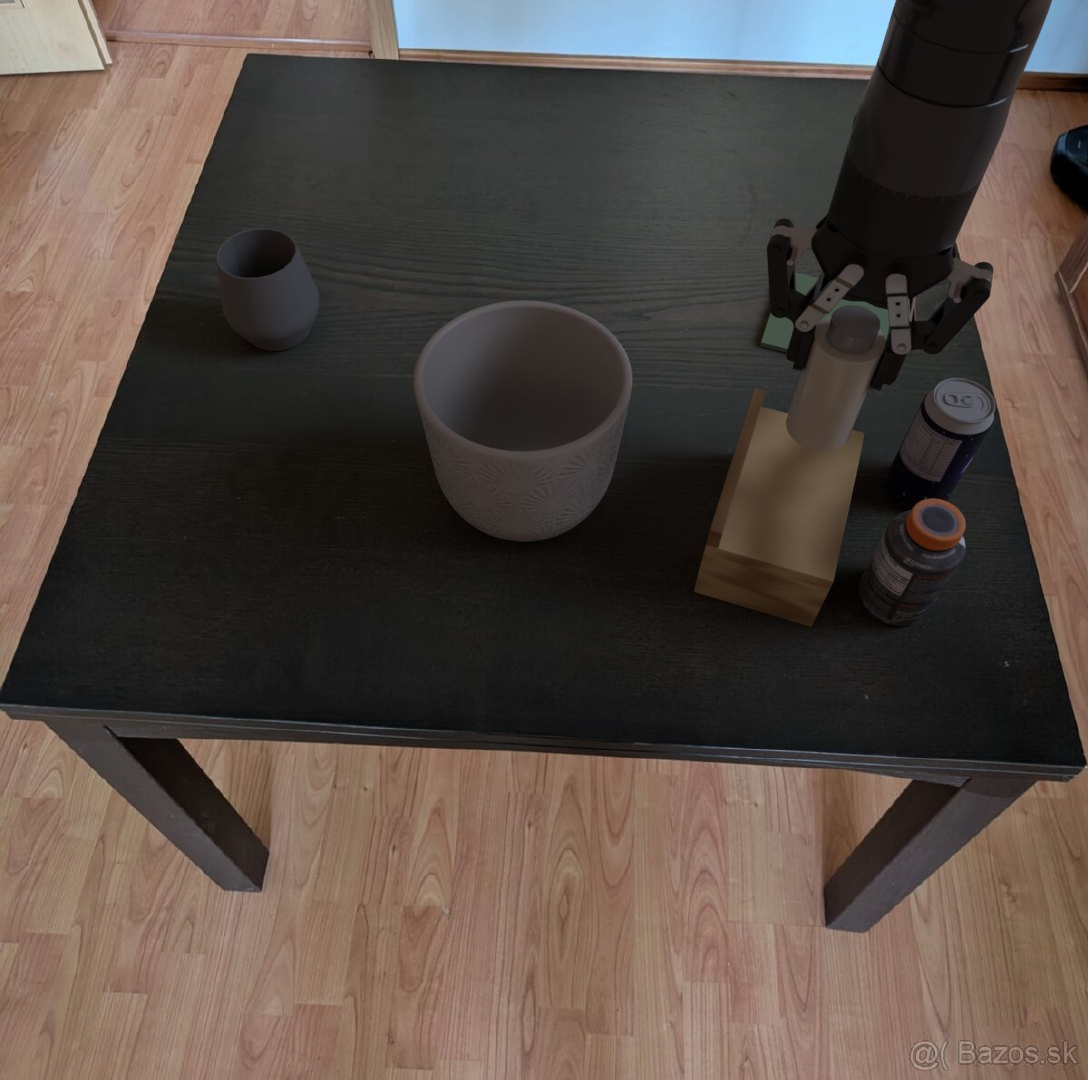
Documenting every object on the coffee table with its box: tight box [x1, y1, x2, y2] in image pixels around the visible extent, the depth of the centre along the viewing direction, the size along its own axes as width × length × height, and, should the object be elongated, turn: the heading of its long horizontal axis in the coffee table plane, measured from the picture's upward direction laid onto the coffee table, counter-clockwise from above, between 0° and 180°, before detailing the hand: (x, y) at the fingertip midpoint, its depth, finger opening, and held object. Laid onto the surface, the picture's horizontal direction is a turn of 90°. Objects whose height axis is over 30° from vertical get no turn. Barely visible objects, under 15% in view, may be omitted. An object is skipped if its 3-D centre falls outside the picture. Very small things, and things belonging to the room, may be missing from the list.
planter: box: [413, 299, 633, 542], centre depth 79 cm, size 17×17×15 cm
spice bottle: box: [786, 305, 886, 451], centre depth 66 cm, size 5×5×10 cm
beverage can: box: [885, 377, 996, 509], centre depth 80 cm, size 6×6×12 cm
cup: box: [215, 227, 320, 352], centre depth 92 cm, size 10×9×10 cm
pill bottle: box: [858, 499, 967, 627], centre depth 74 cm, size 6×6×11 cm
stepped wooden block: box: [693, 387, 866, 628], centre depth 79 cm, size 10×16×9 cm, turn 160°
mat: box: [759, 272, 890, 354], centre depth 98 cm, size 12×12×1 cm
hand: (838, 371), depth 66 cm, fingers closed on spice bottle, 4 cm apart
